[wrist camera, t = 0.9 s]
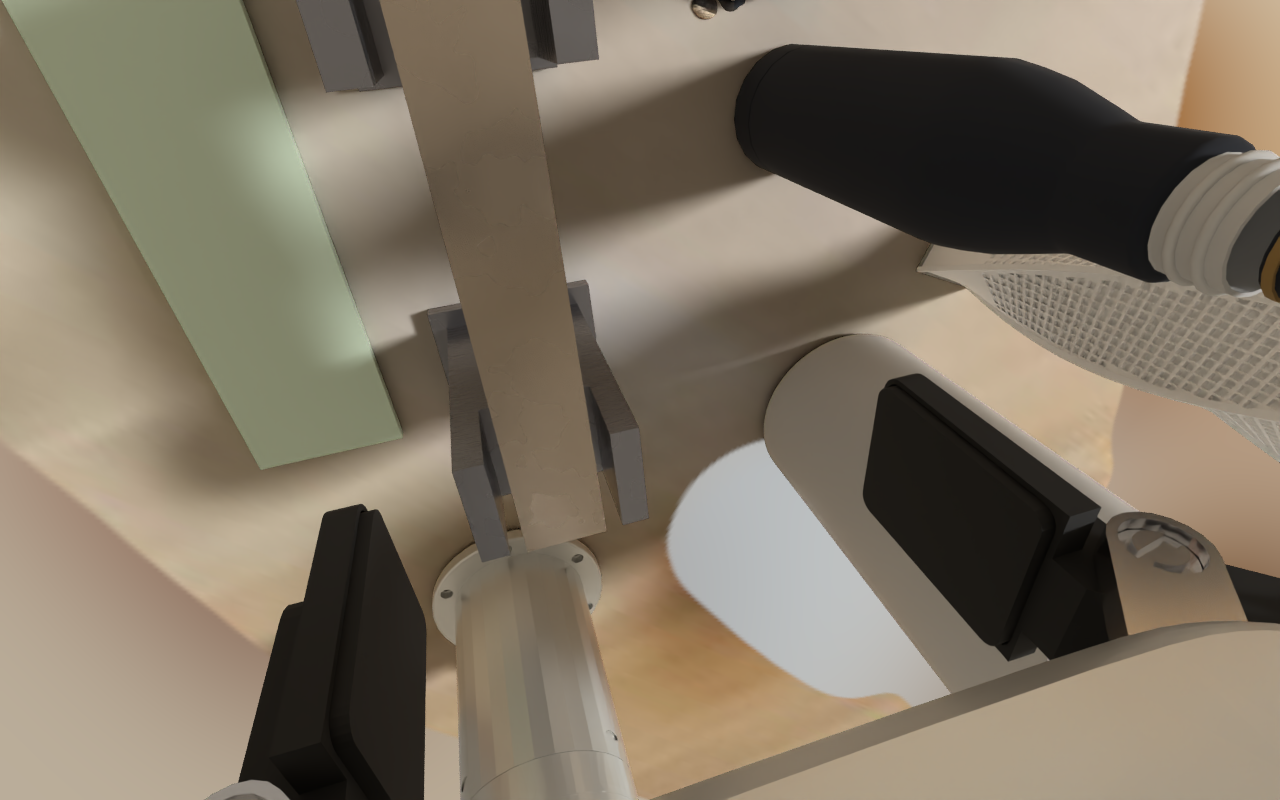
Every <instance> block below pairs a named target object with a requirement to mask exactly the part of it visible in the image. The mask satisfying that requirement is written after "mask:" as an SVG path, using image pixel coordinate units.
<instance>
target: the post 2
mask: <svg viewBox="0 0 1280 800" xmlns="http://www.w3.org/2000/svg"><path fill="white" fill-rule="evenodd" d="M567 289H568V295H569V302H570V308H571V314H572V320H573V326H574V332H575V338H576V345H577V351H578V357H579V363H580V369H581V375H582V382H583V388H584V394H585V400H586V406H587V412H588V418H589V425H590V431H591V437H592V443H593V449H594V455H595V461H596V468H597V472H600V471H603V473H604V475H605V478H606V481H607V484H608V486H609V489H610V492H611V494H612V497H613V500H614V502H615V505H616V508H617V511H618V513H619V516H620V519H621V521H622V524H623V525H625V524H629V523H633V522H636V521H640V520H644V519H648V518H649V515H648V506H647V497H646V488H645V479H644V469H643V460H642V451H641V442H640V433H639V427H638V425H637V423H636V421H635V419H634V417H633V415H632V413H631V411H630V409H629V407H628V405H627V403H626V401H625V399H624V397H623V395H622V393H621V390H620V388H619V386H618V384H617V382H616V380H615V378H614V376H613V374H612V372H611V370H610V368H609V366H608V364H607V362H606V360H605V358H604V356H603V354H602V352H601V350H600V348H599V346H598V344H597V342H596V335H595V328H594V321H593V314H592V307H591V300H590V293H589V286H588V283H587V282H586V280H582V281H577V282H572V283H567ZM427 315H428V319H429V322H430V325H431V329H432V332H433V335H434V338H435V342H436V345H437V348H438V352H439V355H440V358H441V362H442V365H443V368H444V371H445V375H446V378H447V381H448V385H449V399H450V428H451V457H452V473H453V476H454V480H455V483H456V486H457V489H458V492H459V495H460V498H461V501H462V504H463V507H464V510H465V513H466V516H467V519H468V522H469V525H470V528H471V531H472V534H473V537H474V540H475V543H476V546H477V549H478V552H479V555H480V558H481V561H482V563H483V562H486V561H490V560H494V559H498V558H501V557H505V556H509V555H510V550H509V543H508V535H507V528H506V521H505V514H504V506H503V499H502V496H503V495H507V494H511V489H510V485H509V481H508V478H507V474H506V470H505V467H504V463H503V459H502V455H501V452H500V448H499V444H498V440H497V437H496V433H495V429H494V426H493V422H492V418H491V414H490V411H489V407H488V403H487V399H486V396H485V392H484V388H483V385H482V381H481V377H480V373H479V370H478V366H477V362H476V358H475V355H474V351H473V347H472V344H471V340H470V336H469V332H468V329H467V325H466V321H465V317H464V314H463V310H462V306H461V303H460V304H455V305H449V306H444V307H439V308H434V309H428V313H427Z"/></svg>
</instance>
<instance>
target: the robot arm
mask: <svg viewBox="0 0 1280 800" xmlns="http://www.w3.org/2000/svg"><path fill="white" fill-rule="evenodd" d="M863 500H864V503H865V505H866V507H867V509H868V510H869V511H870V512H871V514H872V515H873V516H874V517H875V518H876V519H877V520H878V522H879V523H880V524H881V525H882V526H883V527H884V529H885V530H886V531H887V532H888V533H889V534H890V535H891V537H892V538H893V539H894V540H895V541H896V542H897V543H898V545H899V546H900V547H901V548H902V549H903V550H904V552H905V553H906V554H907V555H908V556H909V557H910V558H911V560H912V561H913V562H914V563H915V564H916V565H917V566H918V568H919V569H920V570H921V571H922V572H923V573H924V575H925V576H926V577H927V578H928V579H929V580H930V581H931V583H932V584H933V585H934V586H935V587H936V588H937V589H938V591H939V592H940V593H941V594H942V595H943V596H944V598H945V599H946V600H947V601H948V602H949V603H950V604H951V606H952V607H953V608H954V609H955V610H956V611H957V612H958V614H959V615H960V616H961V617H962V618H963V619H964V621H965V622H966V623H967V624H968V625H969V626H970V627H971V629H972V630H973V631H974V632H975V633H976V634H977V635H978V637H979V638H980V639H981V640H982V641H983V642H984V643H986V644H987V645H989V646H995V647H996V648H997V650H998V651H999V652H1000V653H1001V654H1002V655H1003V656H1004V658H1005V659H1006V660H1007V661H1008V662H1009V661H1012V660H1015V659H1018V658H1021V657H1024V656H1027V655H1030V654H1033V653H1035V651H1036V649H1037V647H1038V649H1039V650H1040V651H1041V652H1042V653H1043V654H1044V655H1045V656H1046V657H1047V661H1046V662H1043V663H1040V664H1037V665H1034V666H1031V667H1028V668H1025V669H1023V670H1020V671H1017V672H1014V673H1011V674H1008V675H1005V676H1002V677H999V678H996V679H993V680H991V681H988V682H985V683H982V684H979V685H976V686H973V687H970V688H967V689H964V690H961V691H959V692H956V693H953V694H950V695H947V696H944V697H942V698H938V699H935V700H932V701H929V702H927V703H924V704H921V705H918V706H915V707H912V708H909V709H906V710H903V711H901V712H898V713H895V714H892V715H889V716H886V717H883V718H881V719H878V720H875V721H872V722H869V723H866V724H863V725H860V726H858V727H855V728H852V729H849V730H846V731H843V732H840V733H838V734H835V735H832V736H829V737H826V738H823V739H820V740H818V741H815V742H812V743H809V744H806V745H803V746H800V747H798V748H795V749H792V750H789V751H786V752H783V753H780V754H778V755H775V756H772V757H769V758H766V759H763V760H761V761H758V762H755V763H752V764H749V765H746V766H743V767H741V768H738V769H735V770H732V771H729V772H727V773H724V774H721V775H718V776H715V777H713V778H710V779H707V780H704V781H701V782H698V783H696V784H693V785H690V786H687V787H684V788H682V789H679V790H676V791H673V792H670V793H668V794H665V795H662V796H659V797H656V798H654V799H651V800H1280V578H1276V577H1273V576H1269V575H1265V574H1261V573H1257V572H1253V571H1249V570H1245V569H1242V568H1238V567H1234V566H1230V565H1226V564H1225V563H1224V561H1223V559H1222V557H1221V555H1220V553H1219V552H1218V550H1217V549H1216V547H1215V546H1214V545H1213V544H1212V543H1211V542H1210V541H1209V540H1207V539H1206V538H1205V537H1204V536H1203V535H1202V534H1200V533H1198V532H1197V531H1195V530H1193V529H1192V528H1190V527H1189V526H1187V525H1185V524H1182V523H1180V522H1178V521H1175V520H1173V519H1171V518H1167V517H1164V516H1160V515H1156V514H1153V513H1145V512H1125V513H1120V514H1118V515H1116V516H1113V517H1112V518H1111V519H1110V520H1109V521H1108V523H1107V524H1106V523H1105V522H1103V521H1102V520H1101V519H1100V518H1098V517H1097V516H1098V514H1099V512H1100V510H1101V506H1099V505H1098V504H1097V503H1095V502H1094V501H1093V500H1091V499H1090V498H1088V497H1087V496H1086V495H1084V494H1083V493H1082V492H1080V491H1079V490H1078V489H1076V488H1075V487H1074V486H1072V485H1071V484H1070V483H1068V482H1067V481H1066V480H1064V479H1063V478H1062V477H1060V476H1059V475H1058V474H1056V473H1055V472H1053V471H1052V470H1051V469H1049V468H1048V467H1047V466H1045V465H1044V464H1043V463H1041V462H1040V461H1039V460H1037V459H1036V458H1035V457H1033V456H1032V455H1031V454H1029V453H1028V452H1027V451H1025V450H1024V449H1023V448H1021V447H1020V446H1018V445H1017V444H1016V443H1014V442H1013V441H1012V440H1010V439H1009V438H1008V437H1006V436H1005V435H1004V434H1002V433H1001V432H1000V431H998V430H997V429H996V428H994V427H993V426H992V425H990V424H989V423H987V422H986V421H985V420H983V419H982V418H981V417H979V416H978V415H977V414H975V413H974V412H973V411H971V410H970V409H969V408H967V407H966V406H965V405H963V404H962V403H961V402H959V401H958V400H957V399H955V398H954V397H952V396H951V395H950V394H948V393H947V392H946V391H944V390H943V389H942V388H940V387H939V386H938V385H936V384H935V383H934V382H932V381H931V380H930V379H928V378H927V377H926V376H924V375H922V374H919V373H915V374H910V375H906V376H902V377H898V378H894V379H891V380H888V381H887V383H886V384H885V387H884V389H882V390H881V391H880V392H879V395H878V400H877V406H876V412H875V418H874V424H873V431H872V437H871V443H870V449H869V455H868V461H867V468H866V474H865V480H864V486H863ZM507 535H508V543H509V550H510V555H509V556H505V557H501V558H498V559H494V560H490V561H486V562H483V563H482V561H481V558H480V555H479V552H478V549H477V546H476V543H475V544H473V545H471V546H469V547H468V548H466V549H465V550H463V551H462V552H461V553H459V554H458V555H457V556H456V557H454V558H453V559H452V560H451V561H450V563H449V564H448V565H447V566H446V567H445V568H444V569H443V571H442V573H441V574H440V576H439V578H438V579H437V581H436V584H435V587H434V591H433V600H432V610H433V619H434V621H435V623H436V626H437V628H438V630H439V631H440V632H441V633H442V635H443V636H444V637H445V638H446V639H447V640H449V641H450V642H451V643H453V644H454V645H455V646H456V669H457V701H458V734H459V765H460V797H461V798H460V799H461V800H639V799H638V795H637V792H636V788H635V784H634V780H633V776H632V772H631V768H630V764H629V761H628V757H627V753H626V749H625V745H624V741H623V737H622V734H621V730H620V726H619V722H618V718H617V714H616V710H615V707H614V703H613V699H612V695H611V691H610V687H609V684H608V680H607V676H606V672H605V668H604V664H603V660H602V657H601V653H600V649H599V645H598V641H597V637H596V633H595V630H594V626H593V622H592V618H591V614H592V613H593V611H594V610H595V608H596V606H597V604H598V602H599V600H600V596H601V591H602V576H601V572H600V568H599V565H598V563H597V560H596V558H595V556H594V554H593V553H592V552H591V551H590V550H589V549H588V548H587V546H586V545H584V544H583V543H581V542H580V541H578V540H577V539H576V540H572V541H568V542H564V543H561V544H557V545H553V546H549V547H546V548H542V549H538V550H534V551H531V552H527V549H526V545H525V541H524V537H523V534H522V530H521V529H520V530H512V531H508V532H507ZM425 693H426V623H425V618H424V614H423V611H422V609H421V606H420V604H419V602H418V600H417V597H416V595H415V593H414V590H413V588H412V586H411V583H410V581H409V579H408V576H407V574H406V572H405V569H404V567H403V565H402V562H401V560H400V558H399V555H398V553H397V551H396V548H395V546H394V544H393V542H392V539H391V537H390V535H389V532H388V530H387V528H386V525H385V523H384V521H383V518H382V516H381V514H380V512H379V511H378V510H376V509H375V510H371V511H367V509H366V507H365V506H364V505H363V504H358V505H354V506H350V507H346V508H341V509H337V510H333V511H329V512H326V513H325V514H324V516H323V518H322V522H321V527H320V531H319V536H318V540H317V545H316V549H315V553H314V558H313V562H312V567H311V571H310V576H309V580H308V585H307V589H306V594H305V598H304V601H303V602H299V603H295V604H292V605H288V606H287V607H286V608H285V610H284V611H283V613H282V616H281V619H280V622H279V626H278V630H277V633H276V637H275V641H274V645H273V649H272V653H271V657H270V661H269V665H268V669H267V672H266V676H265V680H264V684H263V688H262V692H261V696H260V700H259V703H258V707H257V711H256V715H255V719H254V723H253V727H252V731H251V735H250V738H249V742H248V746H247V751H246V754H245V758H244V762H243V766H242V770H241V773H240V777H239V782H238V783H236V784H232V785H230V786H228V787H226V788H224V789H222V790H220V791H218V792H216V793H214V794H212V795H210V796H209V797H208V798H206V799H205V800H424V758H425V755H424V753H425Z"/></svg>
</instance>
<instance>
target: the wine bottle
mask: <svg viewBox="0 0 1280 800" xmlns="http://www.w3.org/2000/svg"><path fill="white" fill-rule="evenodd" d="M734 121H735V128H736V134H737V139H738V141H739V143H740V145H741V147H742V149H743V151H744V153H745V155H746V156H747V157H748V158H749V159H750V160H751V161H752V162H754V163H755V164H756V165H757V166H759V167H761V168H763V169H765V170H768V171H770V172H772V173H774V174H777V175H779V176H781V177H783V178H785V179H788V180H790V181H792V182H794V183H796V184H799V185H801V186H803V187H805V188H808V189H810V190H812V191H814V192H816V193H819V194H821V195H823V196H825V197H828V198H830V199H832V200H834V201H836V202H839V203H841V204H843V205H845V206H848V207H850V208H852V209H854V210H856V211H859V212H861V213H863V214H865V215H868V216H870V217H872V218H874V219H876V220H879V221H881V222H883V223H885V224H887V225H890V226H892V227H894V228H896V229H899V230H901V231H903V232H905V233H907V234H910V235H912V236H914V237H916V238H919V239H921V240H924V241H926V242H929V243H932V244H934V245H937V246H942V247H947V248H953V249H958V250H963V251H970V252H978V253H986V254H1070V255H1073V256H1076V257H1079V258H1082V259H1084V260H1087V261H1090V262H1092V263H1095V264H1098V265H1101V266H1103V267H1106V268H1109V269H1111V270H1114V271H1117V272H1120V273H1122V274H1125V275H1128V276H1131V277H1133V278H1136V279H1139V280H1141V281H1144V282H1147V283H1159V282H1169V281H1172V282H1174V283H1176V284H1178V285H1181V286H1195V288H1196V289H1197V290H1198V291H1200V292H1202V293H1204V294H1207V295H1209V296H1220V295H1231V296H1234V297H1237V298H1238V297H1251V296H1253V295H1256V294H1258V293H1260V292H1263V294H1264V296H1265V297H1266V298H1268V299H1270V300H1272V301H1275V302H1278V303H1280V157H1279V156H1278V155H1276V154H1275V153H1273V152H1272V151H1269V150H1255V147H1254V146H1253V145H1252V144H1251V143H1249V142H1248V141H1246V140H1244V139H1243V138H1242V137H1240V136H1237V135H1230V134H1222V133H1216V132H1209V131H1201V130H1194V129H1188V128H1181V127H1174V126H1167V125H1160V124H1153V123H1146V122H1141V121H1139V120H1137V119H1136V118H1134V117H1133V116H1131V115H1130V114H1128V113H1127V112H1125V111H1124V110H1122V109H1121V108H1119V107H1118V106H1116V105H1115V104H1113V103H1111V102H1110V101H1108V100H1107V99H1105V98H1104V97H1102V96H1100V95H1099V94H1097V93H1096V92H1094V91H1093V90H1091V89H1089V88H1088V87H1086V86H1085V85H1083V84H1081V83H1080V82H1078V81H1077V80H1075V79H1072V78H1070V77H1067V76H1065V75H1062V74H1060V73H1057V72H1055V71H1053V70H1050V69H1048V68H1045V67H1042V66H1039V65H1036V64H1033V63H1030V62H1027V61H1024V60H1021V59H1017V58H1002V57H987V56H971V55H955V54H940V53H924V52H909V51H893V50H877V49H862V48H846V47H830V46H815V45H798V44H789V45H786V46H783V47H780V48H777V49H775V50H772V51H771V52H770V53H768V54H767V55H766V56H764V57H763V58H762V59H761V60H759V61H758V62H757V63H756V64H755V66H754V67H753V68H752V70H751V71H750V72H749V74H748V75H747V77H746V78H745V79H744V82H743V84H742V87H741V89H740V92H739V95H738V97H737V101H736V109H735V117H734Z"/></svg>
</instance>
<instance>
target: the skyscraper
mask: <svg viewBox="0 0 1280 800" xmlns="http://www.w3.org/2000/svg"><path fill="white" fill-rule="evenodd" d="M916 271H917V272H920V273H923V274H926V275H930V276H933V277H936V278H939V279H942V280H945V281H948V282H951V283H955V284H958V285H961V286H964V287H965V288H967V289H968V290H969V291H970V292H971V293H972V294H973V295H974V296H976V297H977V298H978V299H979V300H980V301H981V302H982V303H983V304H984V305H986V306H987V307H988V308H989V309H990V310H992V311H993V312H994V313H995V314H996V315H998V316H999V317H1000V318H1001V319H1003V320H1004V321H1005V322H1007V323H1008V324H1009V325H1011V326H1012V327H1013V328H1015V329H1016V330H1017V331H1019V332H1020V333H1021V334H1023V335H1024V336H1026V337H1027V338H1029V339H1031V340H1032V341H1034V342H1035V343H1037V344H1038V345H1040V346H1041V347H1043V348H1045V349H1047V350H1048V351H1050V352H1052V353H1054V354H1055V355H1057V356H1059V357H1061V358H1063V359H1065V360H1067V361H1069V362H1071V363H1073V364H1075V365H1077V366H1079V367H1081V368H1083V369H1086V370H1088V371H1090V372H1093V373H1095V374H1097V375H1100V376H1102V377H1104V378H1107V379H1109V380H1112V381H1115V382H1118V383H1120V384H1123V385H1126V386H1129V387H1132V388H1134V389H1137V390H1140V391H1144V392H1147V393H1150V394H1154V395H1157V396H1161V397H1164V398H1167V399H1171V400H1175V401H1179V402H1183V403H1187V404H1191V405H1195V406H1200V407H1202V408H1204V409H1206V410H1208V411H1210V412H1212V413H1213V414H1215V415H1216V416H1217V417H1219V418H1220V419H1221V420H1222V421H1224V422H1225V423H1226V424H1228V425H1229V426H1230V427H1232V428H1233V429H1234V430H1236V431H1237V432H1238V433H1240V434H1241V435H1242V436H1244V437H1245V438H1246V439H1248V440H1249V441H1250V442H1252V443H1253V444H1254V445H1256V446H1257V447H1259V448H1260V449H1261V450H1263V451H1264V452H1265V453H1267V454H1268V455H1270V456H1271V457H1273V458H1274V459H1275V460H1277V461H1278V462H1279V463H1280V303H1278V302H1275V301H1272V300H1270V299H1268V298H1266V297H1265V296H1264V294H1263V292H1260V293H1258V294H1256V295H1253V296H1251V297H1238V298H1237V297H1234V296H1231V295H1220V296H1209V295H1207V294H1204V293H1202V292H1200V291H1198V290H1197V289H1196V288H1195V286H1181V285H1178V284H1176V283H1174V282H1172V281H1169V282H1159V283H1147V282H1144V281H1141V280H1139V279H1136V278H1133V277H1131V276H1128V275H1125V274H1122V273H1120V272H1117V271H1114V270H1111V269H1109V268H1106V267H1103V266H1101V265H1098V264H1095V263H1092V262H1090V261H1087V260H1084V259H1082V258H1079V257H1076V256H1073V255H1070V254H986V253H978V252H970V251H963V250H958V249H953V248H947V247H942V246H937V245H934V244H932V243H931V244H930V246H929V247H928V249H927V251H926V253H925V255H924V257H923V258H922V260H921V262H920V264H919V266H918V268H917V269H916Z"/></svg>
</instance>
